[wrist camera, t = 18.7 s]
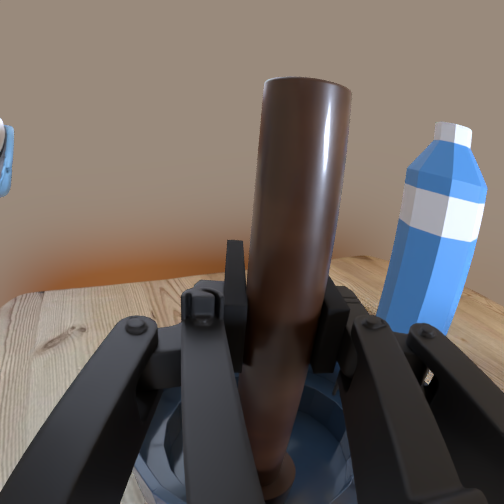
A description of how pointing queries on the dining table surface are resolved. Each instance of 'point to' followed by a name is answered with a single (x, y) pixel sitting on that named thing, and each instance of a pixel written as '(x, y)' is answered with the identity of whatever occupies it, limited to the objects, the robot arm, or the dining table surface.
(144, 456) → the bowl
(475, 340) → the dining table surface
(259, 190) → the pestle
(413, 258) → the water bottle
